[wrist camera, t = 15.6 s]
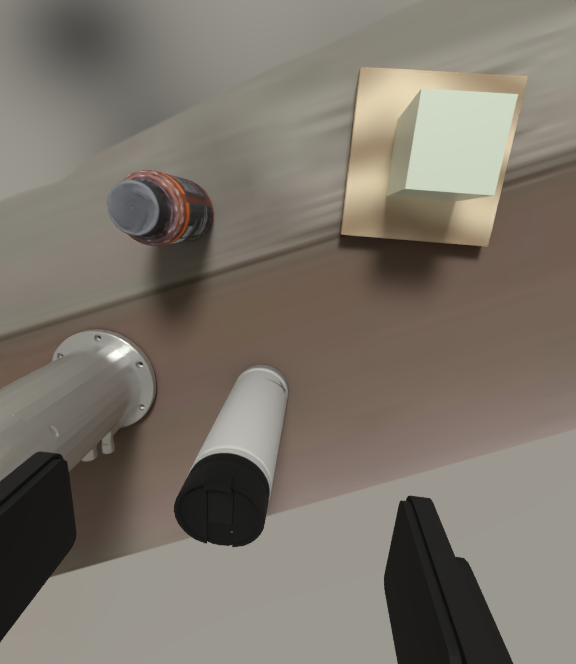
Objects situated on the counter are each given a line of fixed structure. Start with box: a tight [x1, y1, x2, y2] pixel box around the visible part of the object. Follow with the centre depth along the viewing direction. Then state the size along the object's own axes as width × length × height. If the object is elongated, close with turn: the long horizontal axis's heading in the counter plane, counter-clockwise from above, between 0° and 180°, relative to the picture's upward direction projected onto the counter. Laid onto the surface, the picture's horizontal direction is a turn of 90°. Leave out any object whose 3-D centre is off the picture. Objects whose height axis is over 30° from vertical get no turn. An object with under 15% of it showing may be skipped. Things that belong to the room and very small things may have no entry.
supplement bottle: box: [107, 170, 213, 246], centre depth 32 cm, size 6×6×11 cm
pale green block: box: [386, 88, 518, 202], centre depth 29 cm, size 6×6×8 cm
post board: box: [340, 67, 528, 247], centre depth 31 cm, size 14×14×8 cm
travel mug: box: [174, 365, 289, 547], centre depth 33 cm, size 6×7×20 cm
